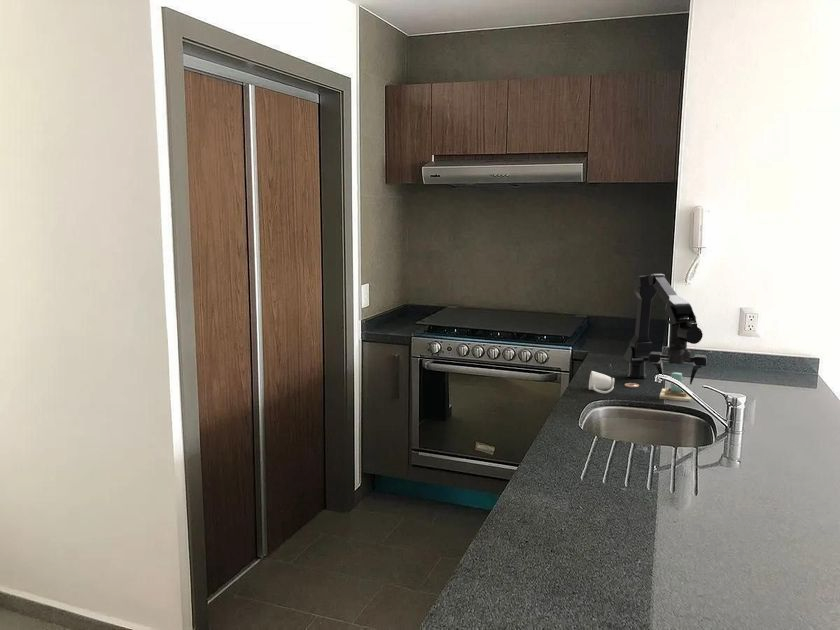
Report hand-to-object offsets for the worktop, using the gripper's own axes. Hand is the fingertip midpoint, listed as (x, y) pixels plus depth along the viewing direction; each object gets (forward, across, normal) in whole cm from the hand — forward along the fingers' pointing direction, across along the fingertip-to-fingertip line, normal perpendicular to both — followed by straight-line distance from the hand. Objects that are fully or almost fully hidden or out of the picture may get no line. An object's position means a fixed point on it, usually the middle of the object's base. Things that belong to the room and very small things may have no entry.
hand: (676, 383), depth 243 cm
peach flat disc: (+4, -16, +9) cm, 19 cm away
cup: (+3, -21, -1) cm, 21 cm away
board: (+4, 0, 0) cm, 4 cm away
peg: (+4, 0, 0) cm, 4 cm away
